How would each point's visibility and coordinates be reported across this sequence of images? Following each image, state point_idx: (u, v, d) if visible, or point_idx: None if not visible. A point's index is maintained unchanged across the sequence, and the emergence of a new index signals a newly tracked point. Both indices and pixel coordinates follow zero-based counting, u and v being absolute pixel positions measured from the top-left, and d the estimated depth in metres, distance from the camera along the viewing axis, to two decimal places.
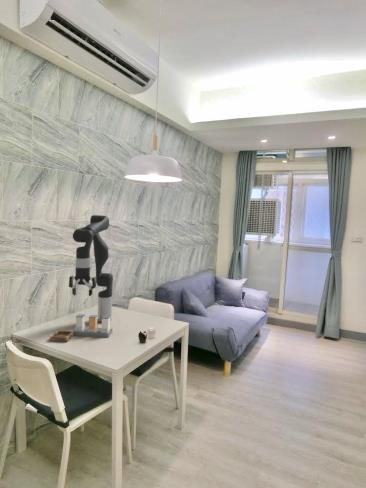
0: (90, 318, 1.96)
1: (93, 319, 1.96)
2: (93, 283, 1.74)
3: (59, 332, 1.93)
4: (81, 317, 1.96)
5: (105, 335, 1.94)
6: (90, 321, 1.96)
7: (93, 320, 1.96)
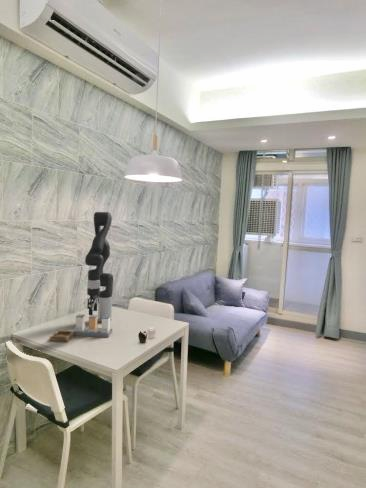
0: (90, 318, 1.96)
1: (93, 319, 1.96)
2: (98, 298, 2.03)
3: (59, 332, 1.93)
4: (81, 317, 1.96)
5: (105, 335, 1.94)
6: (90, 321, 1.96)
7: (93, 320, 1.96)
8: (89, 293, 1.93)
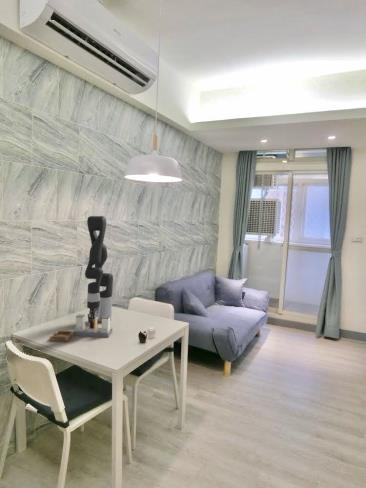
0: None
1: None
2: (97, 313, 2.03)
3: (59, 332, 1.93)
4: (81, 317, 1.96)
5: (105, 335, 1.94)
6: None
7: None
8: (89, 306, 1.94)
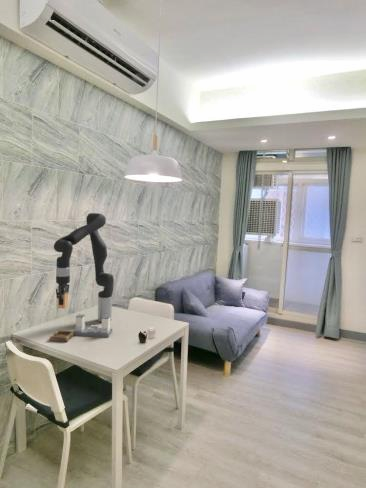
0: None
1: None
2: (68, 289, 1.92)
3: (59, 332, 1.93)
4: (81, 317, 1.96)
5: (105, 335, 1.94)
6: None
7: None
8: (58, 281, 1.83)
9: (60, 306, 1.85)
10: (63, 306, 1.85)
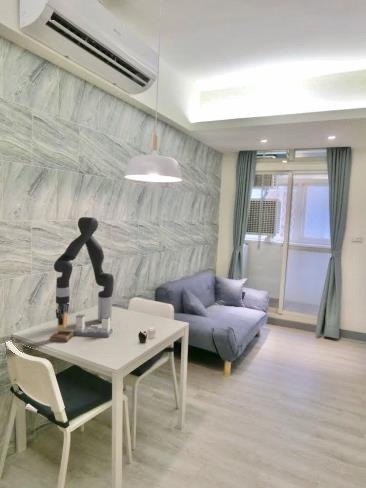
0: None
1: None
2: None
3: (59, 332, 1.93)
4: (81, 317, 1.96)
5: (105, 335, 1.94)
6: None
7: None
8: (57, 301, 1.84)
9: (60, 326, 1.86)
10: (63, 326, 1.86)
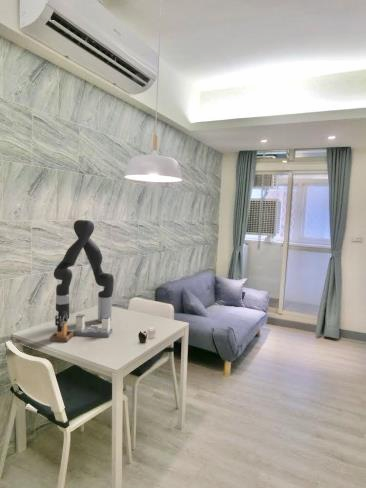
0: None
1: (62, 325, 1.86)
2: (68, 314, 1.94)
3: None
4: (81, 317, 1.96)
5: (105, 335, 1.94)
6: None
7: (62, 326, 1.86)
8: (57, 309, 1.84)
9: (60, 336, 1.87)
10: (63, 336, 1.87)
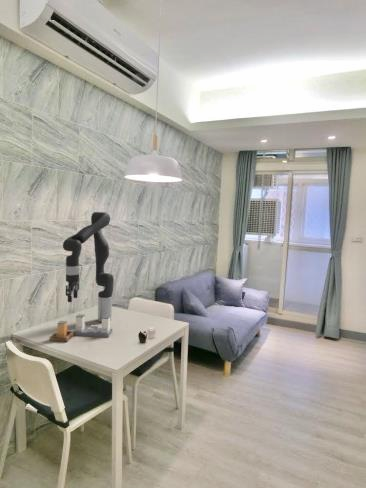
0: (59, 324, 1.86)
1: (62, 325, 1.86)
2: (78, 285, 1.97)
3: None
4: (81, 317, 1.96)
5: (105, 335, 1.94)
6: (59, 327, 1.87)
7: (62, 326, 1.86)
8: (67, 280, 1.86)
9: (60, 336, 1.87)
10: (63, 336, 1.87)
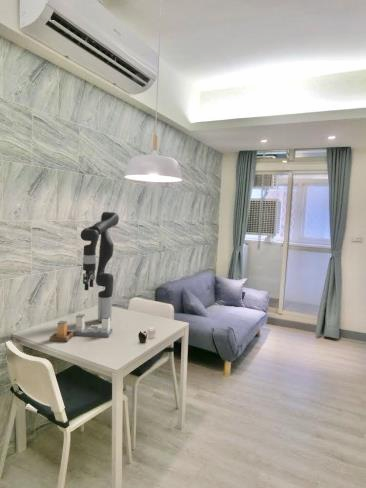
0: (59, 324, 1.86)
1: (62, 325, 1.86)
2: (94, 274, 2.02)
3: None
4: (81, 317, 1.96)
5: (105, 335, 1.94)
6: (59, 327, 1.87)
7: (62, 326, 1.86)
8: (85, 268, 1.92)
9: (60, 336, 1.87)
10: (63, 336, 1.87)
